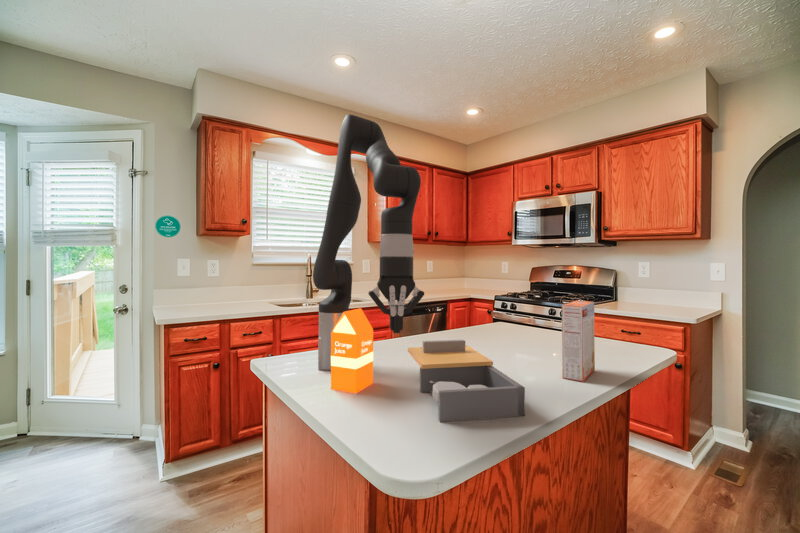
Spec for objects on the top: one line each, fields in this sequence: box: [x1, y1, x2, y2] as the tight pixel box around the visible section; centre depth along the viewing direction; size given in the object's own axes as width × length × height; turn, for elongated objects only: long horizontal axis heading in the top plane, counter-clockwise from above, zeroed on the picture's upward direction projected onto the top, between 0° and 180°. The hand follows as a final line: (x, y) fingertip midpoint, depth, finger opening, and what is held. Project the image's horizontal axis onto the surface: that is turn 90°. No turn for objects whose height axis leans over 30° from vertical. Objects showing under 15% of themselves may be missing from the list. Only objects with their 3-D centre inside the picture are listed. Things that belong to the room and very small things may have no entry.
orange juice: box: [330, 308, 374, 394], centre depth 97 cm, size 8×9×20 cm
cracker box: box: [561, 300, 596, 383], centre depth 107 cm, size 14×6×21 cm, turn 141°
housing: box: [419, 365, 526, 423], centre depth 85 cm, size 18×18×6 cm
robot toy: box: [429, 381, 488, 404], centre depth 84 cm, size 12×4×15 cm
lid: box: [407, 339, 494, 369], centre depth 101 cm, size 18×18×4 cm
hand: (396, 332), depth 83 cm, fingers closed
